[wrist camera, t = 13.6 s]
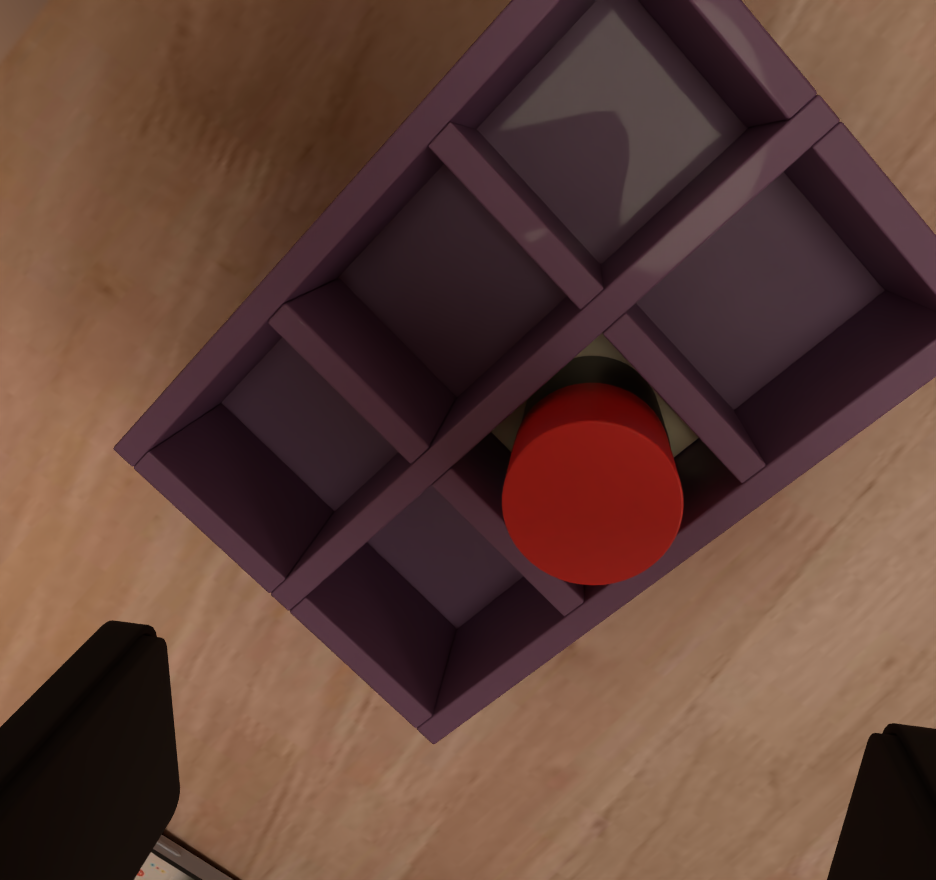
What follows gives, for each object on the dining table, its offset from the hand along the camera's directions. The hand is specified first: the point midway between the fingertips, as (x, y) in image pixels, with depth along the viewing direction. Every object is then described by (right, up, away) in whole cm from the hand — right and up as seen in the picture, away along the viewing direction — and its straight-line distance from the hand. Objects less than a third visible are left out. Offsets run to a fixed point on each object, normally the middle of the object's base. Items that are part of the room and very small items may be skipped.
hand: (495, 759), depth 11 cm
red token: (+3, +4, +12) cm, 13 cm away
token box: (+2, +7, +16) cm, 17 cm away
